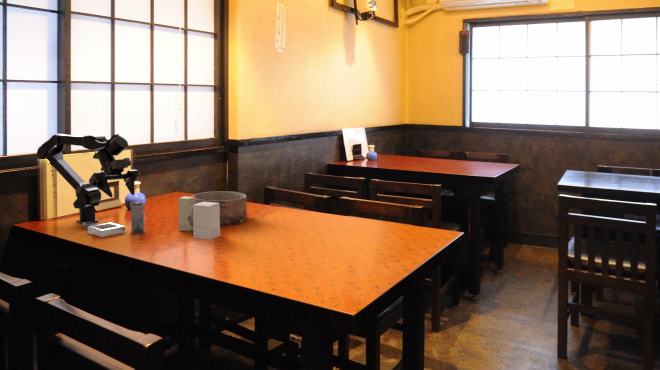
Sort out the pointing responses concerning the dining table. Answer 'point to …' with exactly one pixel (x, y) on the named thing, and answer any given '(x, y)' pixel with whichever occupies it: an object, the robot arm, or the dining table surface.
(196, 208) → the supplement box
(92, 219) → the robot arm
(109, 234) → the square frame with handle
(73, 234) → the dining table surface
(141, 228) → the dark grey metal cylinder
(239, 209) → the cooking pot
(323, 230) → the dining table surface
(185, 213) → the box
